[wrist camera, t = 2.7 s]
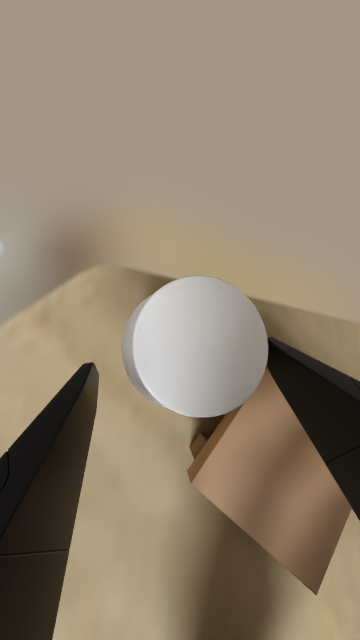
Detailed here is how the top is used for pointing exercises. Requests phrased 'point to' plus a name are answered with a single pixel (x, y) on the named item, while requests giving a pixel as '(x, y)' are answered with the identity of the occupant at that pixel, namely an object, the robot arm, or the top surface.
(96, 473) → the top surface
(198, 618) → the top surface
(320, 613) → the top surface
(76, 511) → the robot arm
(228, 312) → the pill bottle
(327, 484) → the small wooden stand
